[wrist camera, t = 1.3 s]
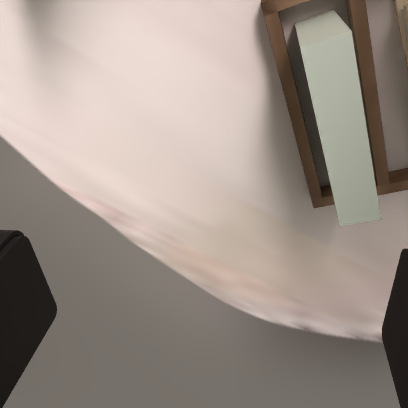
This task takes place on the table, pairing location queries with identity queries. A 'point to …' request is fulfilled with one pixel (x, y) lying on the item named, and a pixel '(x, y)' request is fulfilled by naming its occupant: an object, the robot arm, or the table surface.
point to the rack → (359, 26)
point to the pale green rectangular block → (339, 115)
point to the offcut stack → (403, 23)
